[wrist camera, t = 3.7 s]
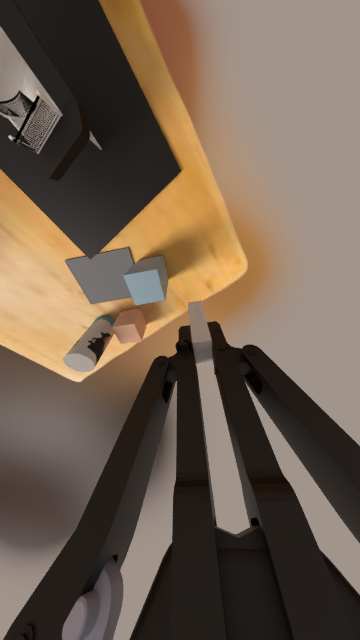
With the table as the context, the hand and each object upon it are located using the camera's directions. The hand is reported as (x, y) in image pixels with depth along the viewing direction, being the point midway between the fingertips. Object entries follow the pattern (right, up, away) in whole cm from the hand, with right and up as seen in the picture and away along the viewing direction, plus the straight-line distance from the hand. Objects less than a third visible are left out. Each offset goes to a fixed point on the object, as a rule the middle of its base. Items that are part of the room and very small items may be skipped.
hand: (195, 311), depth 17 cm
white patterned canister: (-26, -2, +29) cm, 39 cm away
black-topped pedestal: (-20, +29, +7) cm, 36 cm away
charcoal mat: (-21, +10, +20) cm, 30 cm away
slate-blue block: (-8, +12, +19) cm, 24 cm away
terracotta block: (-16, 0, +27) cm, 32 cm away
